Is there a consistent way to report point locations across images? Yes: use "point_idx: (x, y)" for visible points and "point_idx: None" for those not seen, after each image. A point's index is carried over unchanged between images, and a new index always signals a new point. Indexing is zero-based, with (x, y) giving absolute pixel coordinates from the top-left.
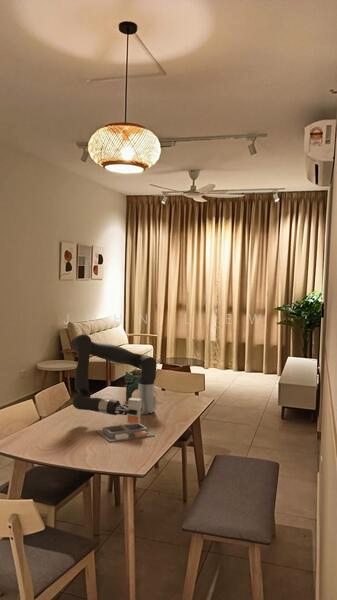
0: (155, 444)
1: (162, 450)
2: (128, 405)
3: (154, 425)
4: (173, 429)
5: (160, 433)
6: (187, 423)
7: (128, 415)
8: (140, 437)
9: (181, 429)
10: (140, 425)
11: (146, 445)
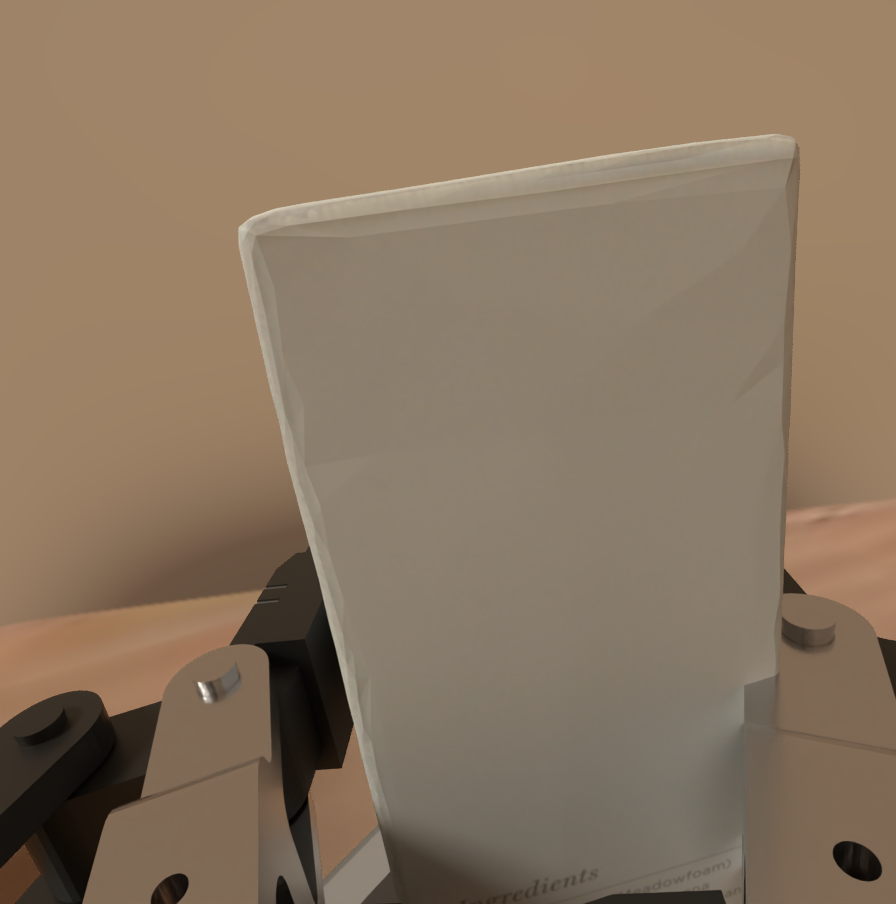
0: None
1: (839, 507)
2: (777, 496)
3: (19, 886)
4: (225, 638)
5: None
6: (17, 623)
7: None
8: None
9: (219, 597)
10: (371, 900)
11: (891, 620)
